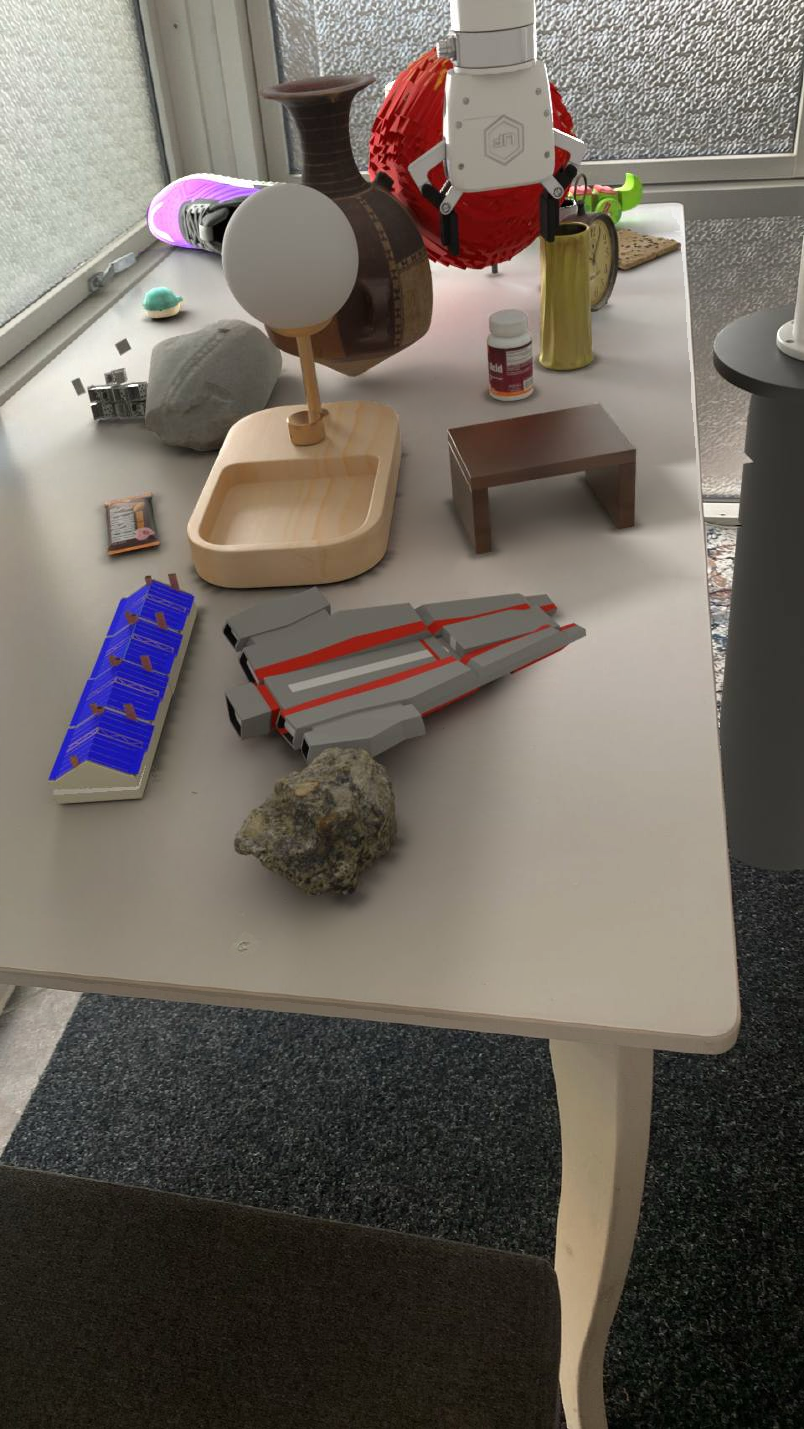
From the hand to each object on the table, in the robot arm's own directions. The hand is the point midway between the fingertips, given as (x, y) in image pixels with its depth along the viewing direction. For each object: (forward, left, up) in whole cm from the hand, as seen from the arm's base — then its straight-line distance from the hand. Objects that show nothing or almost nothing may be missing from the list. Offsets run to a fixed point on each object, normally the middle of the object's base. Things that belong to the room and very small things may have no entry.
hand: (500, 245), depth 112 cm
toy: (-3, -38, -1) cm, 38 cm away
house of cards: (+43, -11, -11) cm, 46 cm away
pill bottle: (0, 0, -16) cm, 16 cm away
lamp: (+24, +16, -16) cm, 33 cm away
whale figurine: (+38, -47, -16) cm, 62 cm away
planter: (-15, -31, -16) cm, 38 cm away
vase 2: (-8, -6, -16) cm, 19 cm away
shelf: (+4, +27, -16) cm, 31 cm away
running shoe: (+25, -77, -10) cm, 82 cm away
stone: (+39, -10, -11) cm, 42 cm away
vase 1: (+15, -12, -16) cm, 25 cm away
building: (+40, +44, -16) cm, 61 cm away
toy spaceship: (+19, +48, -11) cm, 53 cm away
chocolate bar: (+41, +16, -16) cm, 46 cm away
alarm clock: (-14, -19, -16) cm, 28 cm away
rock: (+29, +69, -14) cm, 76 cm away
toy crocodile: (-24, -55, -16) cm, 62 cm away
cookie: (-26, -41, -16) cm, 51 cm away
